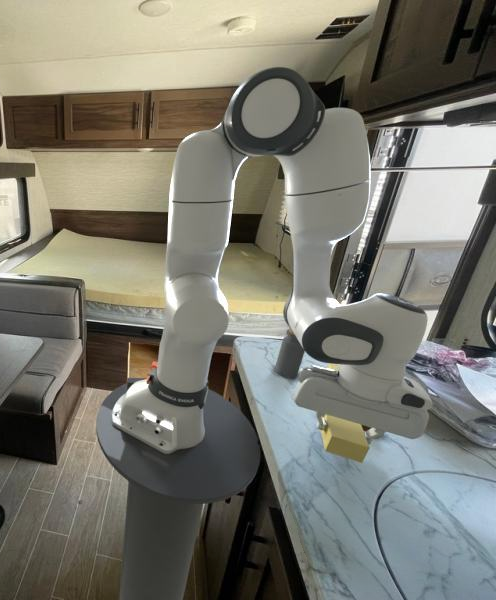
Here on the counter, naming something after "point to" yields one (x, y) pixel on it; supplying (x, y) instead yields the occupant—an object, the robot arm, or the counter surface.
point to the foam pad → (345, 439)
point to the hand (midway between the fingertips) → (341, 434)
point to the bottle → (289, 356)
